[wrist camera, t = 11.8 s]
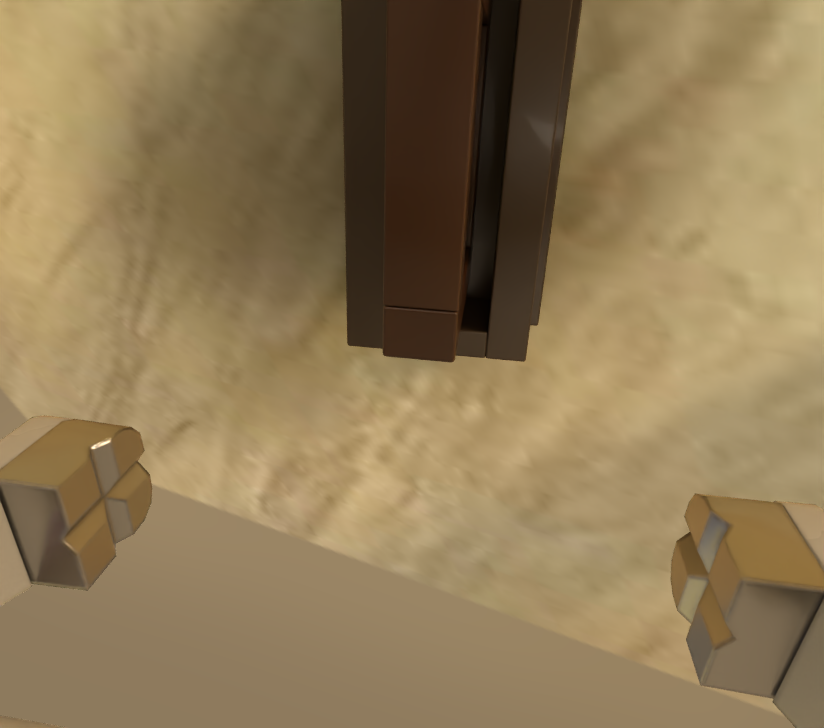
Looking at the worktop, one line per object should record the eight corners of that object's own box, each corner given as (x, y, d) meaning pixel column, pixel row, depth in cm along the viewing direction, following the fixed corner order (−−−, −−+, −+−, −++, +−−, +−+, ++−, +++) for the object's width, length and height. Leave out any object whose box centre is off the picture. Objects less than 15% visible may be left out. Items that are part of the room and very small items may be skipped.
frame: (494, -27, 19) (487, -93, 12) (470, 276, 23) (454, 364, 16) (432, -28, 19) (387, -93, 12) (420, 272, 23) (381, 357, 16)
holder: (594, -105, 18) (617, -153, 14) (537, 320, 24) (542, 364, 20) (352, -105, 19) (314, -150, 15) (356, 306, 25) (330, 344, 21)
